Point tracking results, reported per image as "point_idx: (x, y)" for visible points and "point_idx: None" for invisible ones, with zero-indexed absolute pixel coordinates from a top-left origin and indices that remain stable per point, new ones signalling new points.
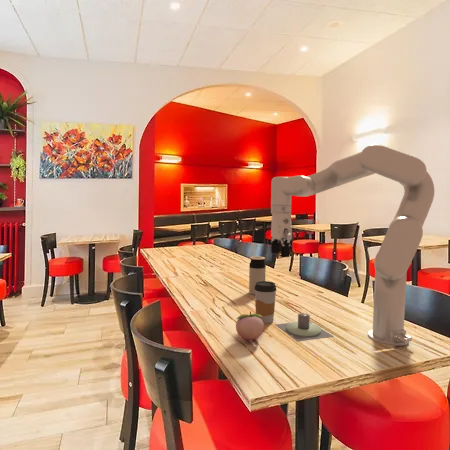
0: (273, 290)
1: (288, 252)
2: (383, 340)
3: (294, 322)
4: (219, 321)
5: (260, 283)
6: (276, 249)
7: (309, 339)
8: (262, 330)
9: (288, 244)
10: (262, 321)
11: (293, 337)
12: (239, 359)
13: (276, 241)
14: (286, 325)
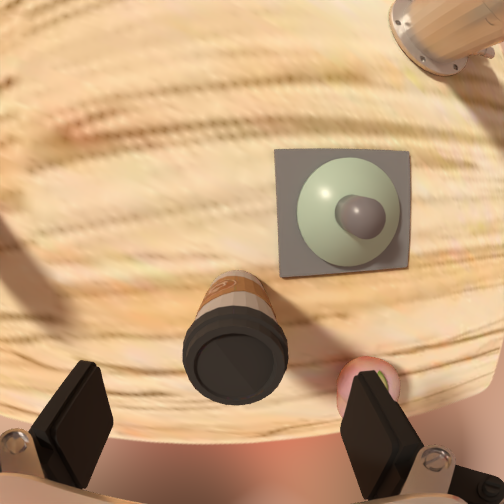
0: (282, 335)
1: (385, 403)
2: (454, 64)
3: (303, 219)
4: (203, 403)
5: (217, 382)
6: (92, 411)
7: (408, 230)
8: (391, 365)
9: (456, 473)
10: (388, 373)
11: (385, 267)
12: (412, 396)
13: (51, 473)
14: (297, 246)
